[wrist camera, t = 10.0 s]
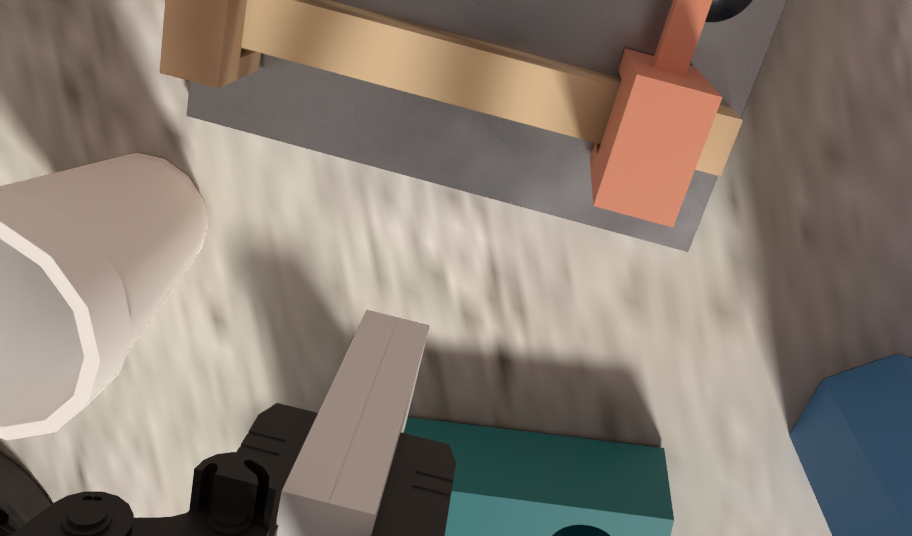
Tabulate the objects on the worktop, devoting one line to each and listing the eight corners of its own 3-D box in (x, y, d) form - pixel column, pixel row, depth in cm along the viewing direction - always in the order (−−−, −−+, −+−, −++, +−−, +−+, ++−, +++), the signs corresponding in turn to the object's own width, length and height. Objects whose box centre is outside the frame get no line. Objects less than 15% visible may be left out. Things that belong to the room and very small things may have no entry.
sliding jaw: (589, 159, 35) (593, 206, 29) (657, -55, 31) (677, -51, 25) (655, 176, 35) (673, 227, 29) (731, -35, 31) (769, -27, 25)
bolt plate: (197, 110, 38) (186, 115, 37) (231, -221, 32) (219, -227, 31) (684, 242, 38) (688, 252, 36) (806, -72, 32) (815, -72, 31)
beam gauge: (203, 53, 36) (152, 71, 31) (225, -167, 32) (171, -183, 28) (701, 187, 35) (719, 224, 31) (781, -22, 32) (815, -14, 27)
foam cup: (248, 299, 42) (120, 446, 30) (84, 295, 43) (-101, 434, 31) (221, 120, 38) (64, 206, 26) (43, 121, 39) (-183, 203, 28)
